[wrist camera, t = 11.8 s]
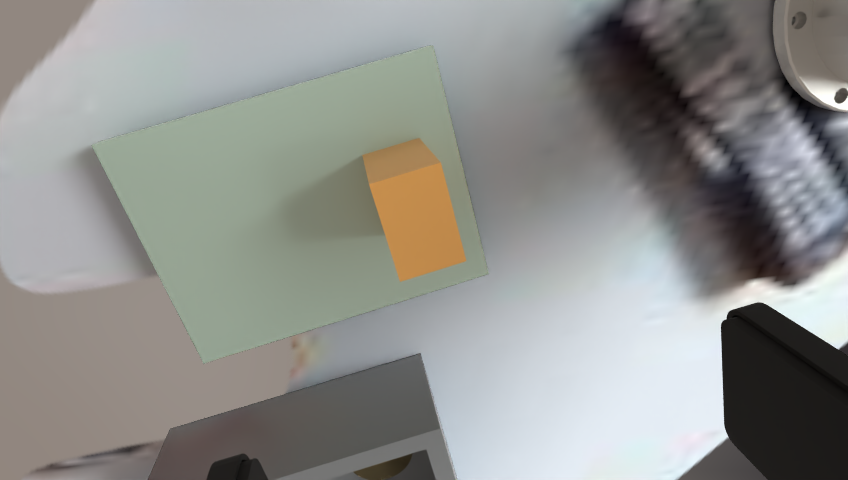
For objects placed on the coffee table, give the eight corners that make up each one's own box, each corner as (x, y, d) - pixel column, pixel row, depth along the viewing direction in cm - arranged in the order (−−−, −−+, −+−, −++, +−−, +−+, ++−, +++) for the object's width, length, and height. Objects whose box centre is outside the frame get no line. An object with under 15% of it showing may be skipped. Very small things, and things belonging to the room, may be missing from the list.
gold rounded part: (399, 397, 33) (403, 418, 31) (415, 445, 34) (419, 468, 33) (337, 416, 33) (337, 439, 31) (356, 464, 34) (357, 488, 32)
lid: (425, 45, 27) (460, 45, 20) (479, 259, 32) (523, 326, 24) (110, 137, 27) (19, 174, 19) (212, 342, 31) (172, 439, 24)
